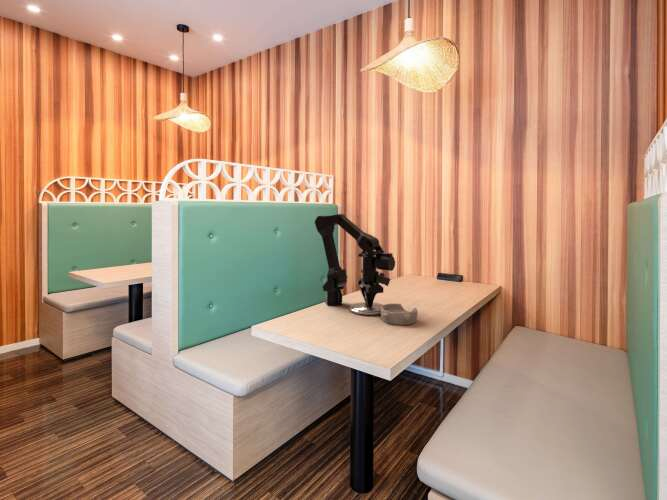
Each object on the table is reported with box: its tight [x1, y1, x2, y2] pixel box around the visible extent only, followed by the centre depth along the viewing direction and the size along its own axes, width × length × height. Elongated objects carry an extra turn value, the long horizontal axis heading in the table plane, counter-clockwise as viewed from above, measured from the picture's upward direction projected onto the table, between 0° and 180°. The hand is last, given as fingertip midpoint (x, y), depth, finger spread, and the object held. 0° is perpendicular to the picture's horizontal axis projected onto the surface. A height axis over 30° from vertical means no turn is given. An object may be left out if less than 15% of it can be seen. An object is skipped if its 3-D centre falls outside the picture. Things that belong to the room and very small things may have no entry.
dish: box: [380, 303, 418, 326], centre depth 141 cm, size 14×14×5 cm
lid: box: [348, 296, 384, 316], centre depth 154 cm, size 16×16×5 cm
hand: (368, 305), depth 154 cm, fingers closed on lid, 3 cm apart
